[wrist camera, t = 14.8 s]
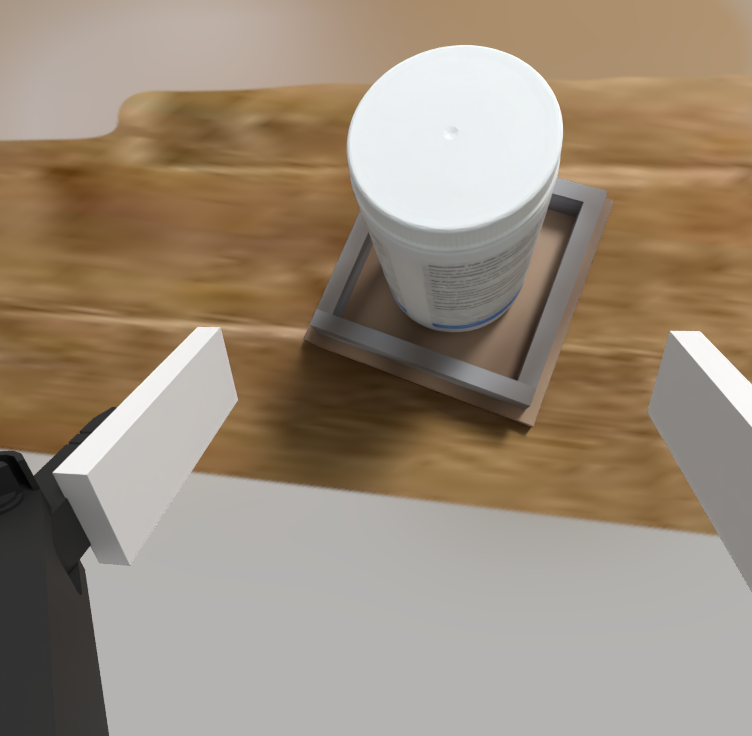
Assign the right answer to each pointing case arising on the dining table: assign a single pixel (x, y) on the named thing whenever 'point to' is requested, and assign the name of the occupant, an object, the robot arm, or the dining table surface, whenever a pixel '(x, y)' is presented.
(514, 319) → the dock
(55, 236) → the dining table surface
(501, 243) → the supplement tub
